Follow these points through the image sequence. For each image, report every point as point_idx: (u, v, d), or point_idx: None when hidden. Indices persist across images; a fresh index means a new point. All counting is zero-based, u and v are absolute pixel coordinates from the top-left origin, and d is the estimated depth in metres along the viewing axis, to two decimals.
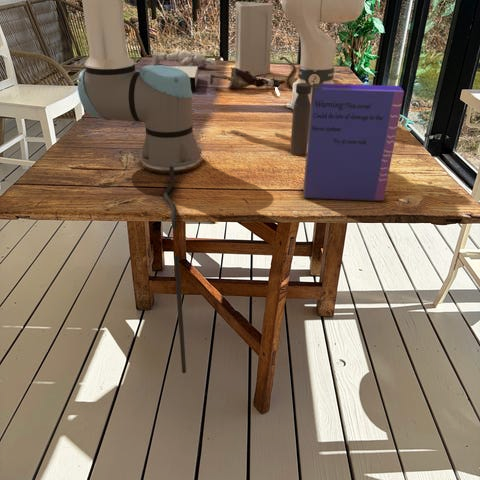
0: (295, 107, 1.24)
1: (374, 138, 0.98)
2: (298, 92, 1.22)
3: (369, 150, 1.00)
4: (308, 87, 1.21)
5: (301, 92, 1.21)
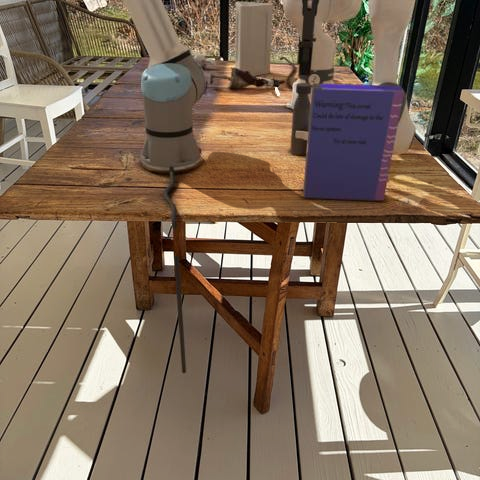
0: (295, 107, 1.24)
1: (374, 138, 0.98)
2: (298, 92, 1.22)
3: (369, 150, 1.00)
4: (308, 87, 1.21)
5: (301, 92, 1.21)
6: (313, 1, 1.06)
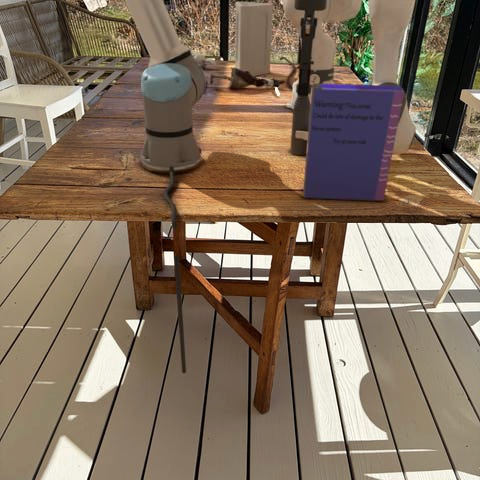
0: (295, 107, 1.24)
1: (374, 138, 0.98)
2: None
3: (369, 150, 1.00)
4: None
5: None
6: (311, 27, 1.09)
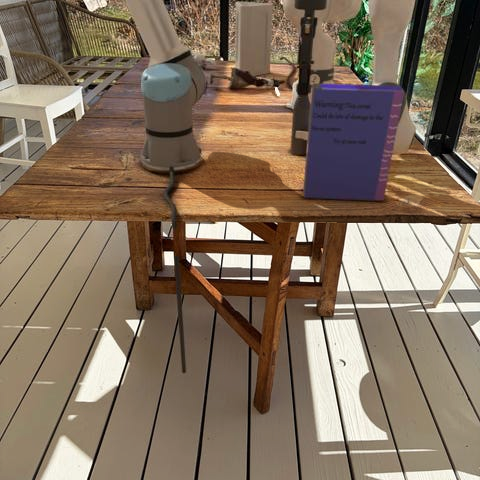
0: (295, 107, 1.24)
1: (374, 138, 0.98)
2: (310, 91, 1.22)
3: (369, 150, 1.00)
4: None
5: (310, 90, 1.22)
6: (310, 27, 1.09)
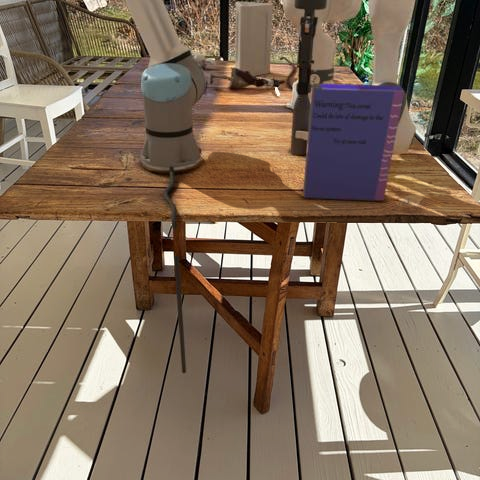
0: (295, 107, 1.24)
1: (374, 138, 0.98)
2: None
3: (369, 150, 1.00)
4: None
5: None
6: (310, 26, 1.09)
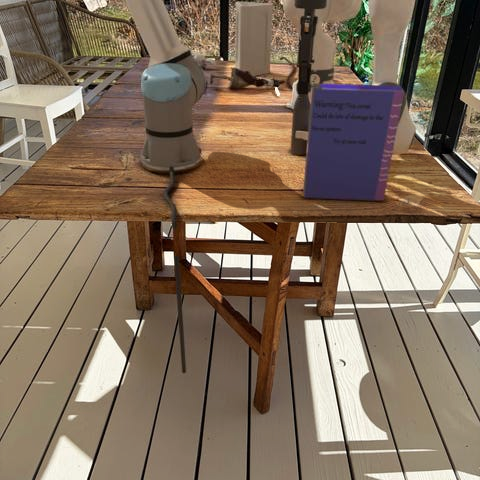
0: (295, 107, 1.24)
1: (374, 138, 0.98)
2: (296, 89, 1.22)
3: (369, 150, 1.00)
4: None
5: None
6: (310, 26, 1.09)
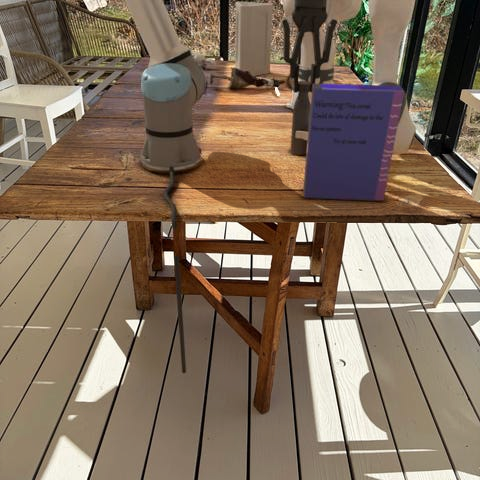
0: (295, 107, 1.24)
1: (374, 138, 0.98)
2: (306, 91, 1.21)
3: (369, 150, 1.00)
4: None
5: (309, 90, 1.21)
6: None
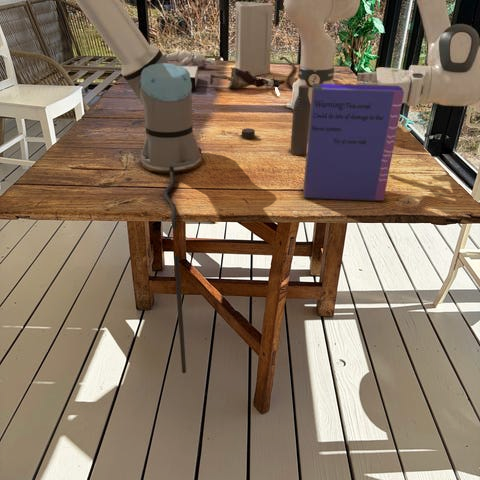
0: (295, 107, 1.24)
1: (374, 138, 0.98)
2: (250, 137, 1.40)
3: (369, 150, 1.00)
4: None
5: (253, 136, 1.40)
6: None
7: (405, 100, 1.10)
